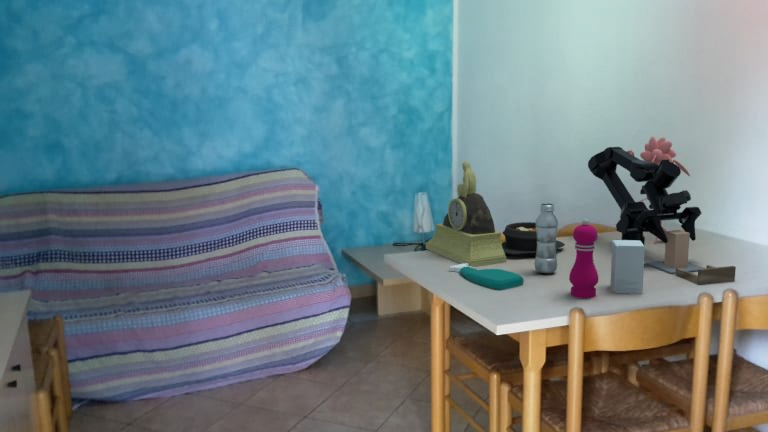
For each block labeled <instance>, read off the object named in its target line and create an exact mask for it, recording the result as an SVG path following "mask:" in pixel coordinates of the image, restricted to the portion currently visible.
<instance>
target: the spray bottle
mask: <svg viewBox="0 0 768 432" xmlns="http://www.w3.org/2000/svg"><path fill="white" fill-rule="evenodd" d="M476 268H477V267H470V266H469V264H468V263H465V264H464V263H463V264H460V263H458V264H455V265H451V266H449V270H448V271H449V272H456V273H460V274H461V275H462V276H463V277H465V279H467V280H468V281H470V282H472V283H475V284H477V285H479V286H483V287H484V288H489V289H493V290H497V291H503V290H508V289H509V290H510V289H513V288H517V287H520V286H523V285H524V282H525V279H524V277H523V276H522V275H520V274H519V273H515V272H513V271H509V270H506V269H505V270H504V269H500V268H484V269H476Z"/></svg>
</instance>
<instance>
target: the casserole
mask: <svg viewBox="0 0 768 432" xmlns="http://www.w3.org/2000/svg"><path fill="white" fill-rule="evenodd" d="M502 234H503V236H504V239H505V241H503V242H501V244H502V248H503V251H504V253H505V255H506V254H508V255H520V256H527V257H528V256H530V257H531V256H536V251H537V233H536V224H535V222H530V221H529V222H527V221H526V222H523V221H522V222H515V223H510V224H507V225H506V226H505V227H504V230H503V231H502ZM564 246H566V244H565V242H562V241H560V240H557V239H556V251H557V250H559V248H562V247H564Z"/></svg>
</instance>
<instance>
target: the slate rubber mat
mask: <svg viewBox="0 0 768 432" xmlns="http://www.w3.org/2000/svg"><path fill="white" fill-rule="evenodd" d="M664 261H665V260H658V261H647V262H646V261H645V262H644V265H647V266H650V267H652V268H655V269H657V270H660V271H662V272H665V273H667V274H669V275H676V268H673V267H670V266H667V265H665V264H664ZM680 269H683V270H686V271H688V272H691V273H695V272H696V273H698V269H706V267H703V266H701V265H698V264H695V263H692V262H689V261H688V267H681V268H680Z"/></svg>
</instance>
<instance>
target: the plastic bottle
mask: <svg viewBox="0 0 768 432" xmlns="http://www.w3.org/2000/svg"><path fill="white" fill-rule="evenodd" d="M554 206H555V204H554V203H550V202H547V203H546V202H544V203H543V202H542V203H541V204H540V209H539V211H540V213H539V215H538V216H537V218H536V219H535V222H534V223H535V224H536V233H537V251H536V255H535V259H534V263H533V265H534V269H535V270H536V272H537V273H541V274H553V273H555V272H556V270H557V269H558V268H557V267H558V257H557V250H556V240H557V234H558V228H559V220H558V219H557V217H556V215H555V213H554V211H555V209H554Z"/></svg>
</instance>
